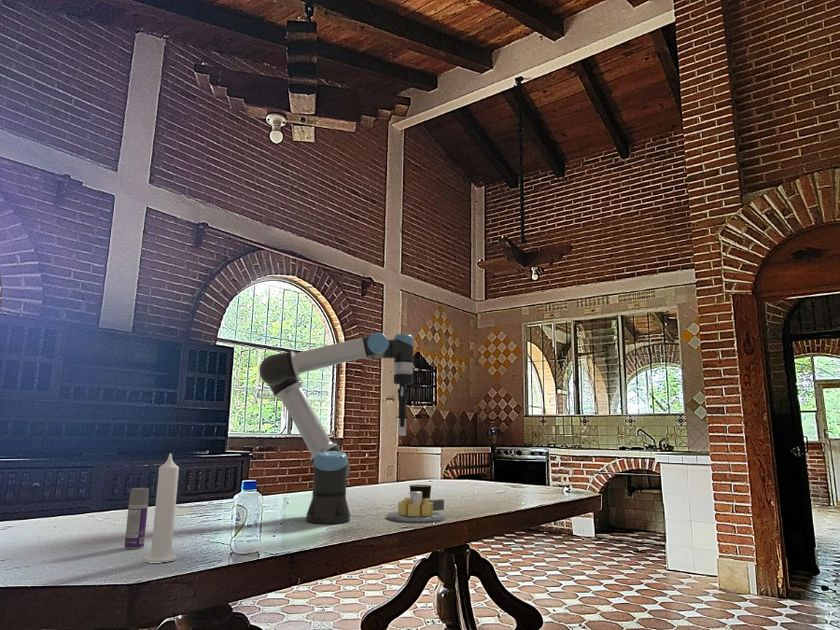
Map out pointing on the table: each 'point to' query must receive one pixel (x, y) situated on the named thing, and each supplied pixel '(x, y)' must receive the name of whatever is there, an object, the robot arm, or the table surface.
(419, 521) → the flange plate
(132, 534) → the container
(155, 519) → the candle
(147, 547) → the table surface
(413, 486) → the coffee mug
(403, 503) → the toy block cluster
